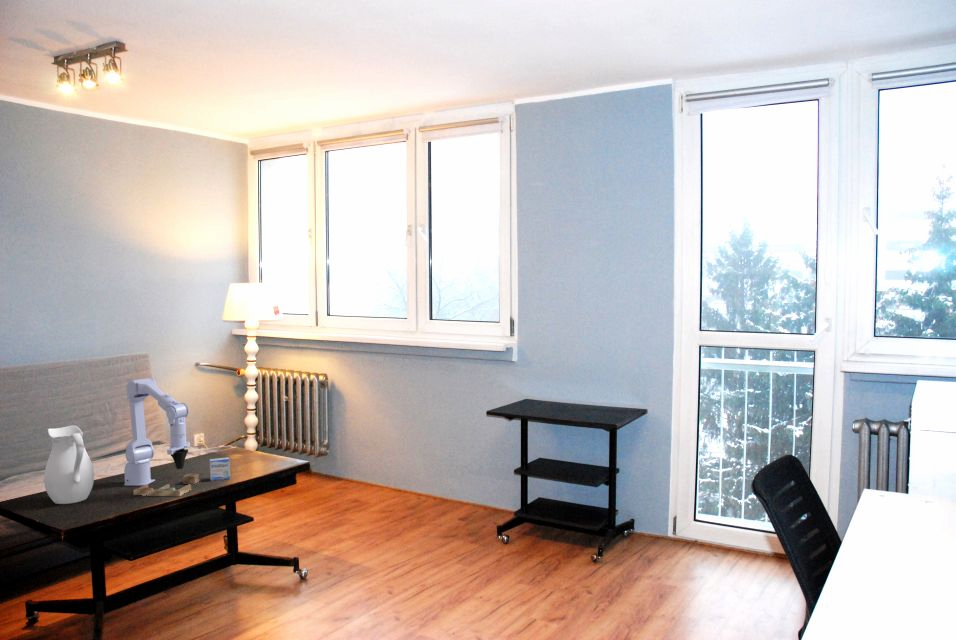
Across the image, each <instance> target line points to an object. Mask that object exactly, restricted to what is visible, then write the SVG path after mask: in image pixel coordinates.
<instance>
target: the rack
mask: <svg viewBox="0 0 956 640" xmlns="http://www.w3.org/2000/svg"><path fill="white" fill-rule="evenodd" d="M189 490H190V491H192V485H191V484H188V485H185V486H183V487H181V488H180V489H176V487H171V485H170V483H167V484H166V485H163V486H161V487H159V488H158V489H154V488H153V487H149V484H145V485H140V486H139V487H138V488H135V489H133V491H132V492H133V496H134V495H142V496H141V497H181V496H183V495H184V493H185V494H186V493H188V492H190V491H189ZM146 495H147V496H146Z"/></svg>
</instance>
